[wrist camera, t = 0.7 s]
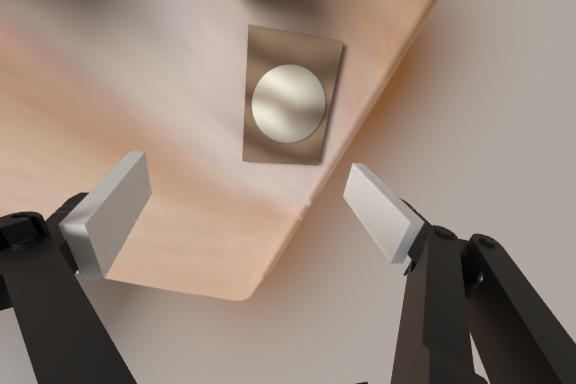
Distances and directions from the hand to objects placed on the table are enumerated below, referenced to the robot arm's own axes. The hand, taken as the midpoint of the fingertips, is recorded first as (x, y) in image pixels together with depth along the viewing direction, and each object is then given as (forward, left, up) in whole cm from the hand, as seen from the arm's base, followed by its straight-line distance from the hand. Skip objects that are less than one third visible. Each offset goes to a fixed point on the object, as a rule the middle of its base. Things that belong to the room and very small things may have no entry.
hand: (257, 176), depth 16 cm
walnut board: (0, +7, -27) cm, 28 cm away
